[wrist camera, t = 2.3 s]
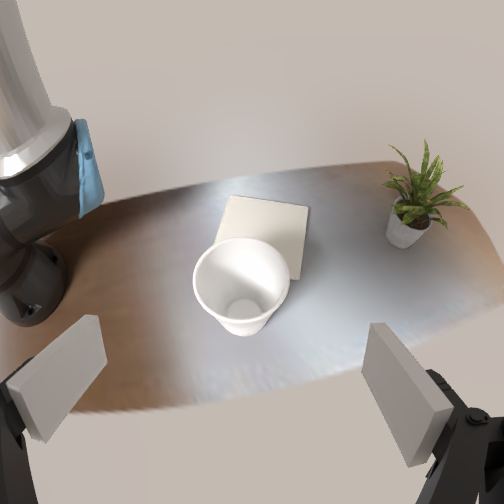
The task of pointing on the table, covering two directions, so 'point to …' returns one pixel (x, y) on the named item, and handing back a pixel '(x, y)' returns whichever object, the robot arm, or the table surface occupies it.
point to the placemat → (268, 227)
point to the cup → (241, 283)
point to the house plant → (416, 204)
